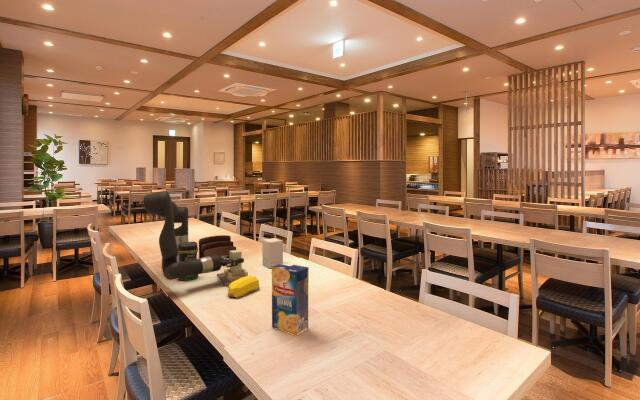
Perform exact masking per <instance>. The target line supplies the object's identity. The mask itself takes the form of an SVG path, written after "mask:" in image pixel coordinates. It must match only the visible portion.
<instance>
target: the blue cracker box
mask: <svg viewBox="0 0 640 400" xmlns="http://www.w3.org/2000/svg"><path fill="white" fill-rule="evenodd" d="M309 269H310V267H308V266H304V265H298V264H292V263H289V262H283V263H282V264H279V265H276V266H273V267H272V268H271V328H272V327H274V328H277V329H280V330H283V331H286V332H289V333H292V334H294V335H293V336H295V335H297V334H299V333H300V334H301V332H302V331H303V332H305V331H306V330H308V329H309V274H310V273H309V272H310V271H309ZM274 328H273V329H274ZM307 328H308V329H307ZM277 329H276V330H277ZM305 329H306V330H305ZM280 330H279V331H280ZM304 330H305V331H304ZM283 331H282V332H283ZM286 332H285V333H286ZM303 332H302V333H303ZM289 333H288V334H289ZM292 334H291V335H292ZM300 334H299V335H300ZM297 336H298V335H297Z"/></svg>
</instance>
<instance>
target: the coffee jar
mask: <svg viewBox="0 0 640 400" xmlns="http://www.w3.org/2000/svg"><path fill="white" fill-rule="evenodd" d="M198 253H199V244H198V243H197V242H196V241H189V242H183V243H179V244H178V254H179V262H183V261H190V260H194V259H198V257H197V256H198ZM198 278H199V274H197V275H189V276H186V277H182V278H178V280H179V281H191V280H197V279H198Z"/></svg>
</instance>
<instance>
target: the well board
mask: <svg viewBox="0 0 640 400" xmlns="http://www.w3.org/2000/svg"><path fill="white" fill-rule="evenodd" d="M223 271H224V272H221V273H217V274H216V277H217V278H218V280H219V281H220V282H221V283H222V284H223V286H224V287H229V285H230V284H231V283H232V282H234V281H236V280H238V279H240V278H242V277H246V276H249V272H248V271H247V270H246V269H245V268H244V267H243V266H242V272H239V273H232V274H231V273H230V268H227V269H224V270H223Z"/></svg>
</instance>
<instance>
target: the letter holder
mask: <svg viewBox="0 0 640 400" xmlns="http://www.w3.org/2000/svg"><path fill="white" fill-rule="evenodd" d="M231 238H232V237H231V235H227V234H226V235H224V234H223V235H222V234H221V235H212V236H206V237H202V238H199V240H198V259H199V258H203V257H208V256H213V255H218V256H221V255H225V256H226V255H227V256H230V251H233V250H237V247H236V246H234V241H232V240H231Z"/></svg>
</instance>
